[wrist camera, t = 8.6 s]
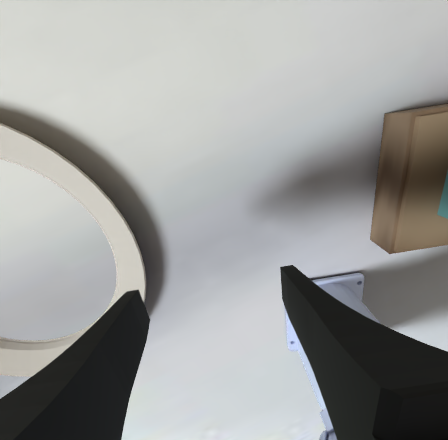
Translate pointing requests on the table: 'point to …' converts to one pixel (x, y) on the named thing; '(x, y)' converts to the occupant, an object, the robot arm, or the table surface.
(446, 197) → the teal cube
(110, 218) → the plate
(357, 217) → the table surface
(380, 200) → the walnut plinth
